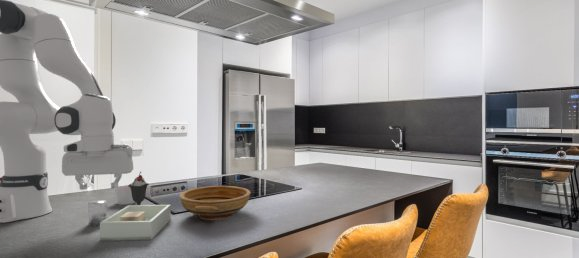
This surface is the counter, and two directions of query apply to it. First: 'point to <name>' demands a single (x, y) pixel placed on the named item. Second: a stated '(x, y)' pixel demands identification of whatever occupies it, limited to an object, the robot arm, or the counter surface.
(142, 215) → the maple cube
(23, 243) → the counter surface
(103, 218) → the aluminium cylinder
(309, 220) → the counter surface
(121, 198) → the candle
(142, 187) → the sundae
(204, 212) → the wooden bowl
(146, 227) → the tote
